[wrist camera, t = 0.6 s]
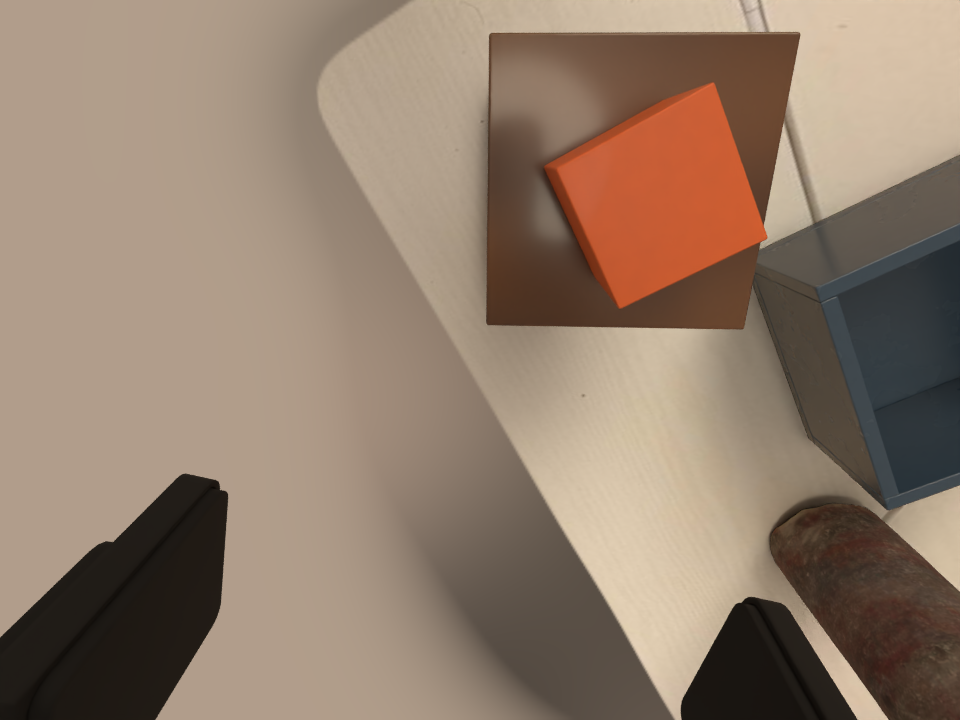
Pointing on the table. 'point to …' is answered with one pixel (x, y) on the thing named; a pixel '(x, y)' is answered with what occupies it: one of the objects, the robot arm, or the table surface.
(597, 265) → the orange block
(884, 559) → the brown textured cylinder
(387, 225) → the table surface
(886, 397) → the blue open crate
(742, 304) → the serving stand
